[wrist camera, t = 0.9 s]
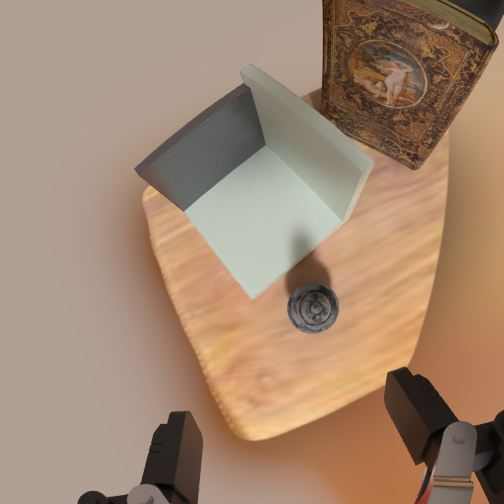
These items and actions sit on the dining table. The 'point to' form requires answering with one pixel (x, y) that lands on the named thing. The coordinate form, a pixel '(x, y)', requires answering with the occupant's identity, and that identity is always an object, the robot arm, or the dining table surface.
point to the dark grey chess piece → (313, 307)
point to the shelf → (260, 178)
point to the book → (400, 71)
